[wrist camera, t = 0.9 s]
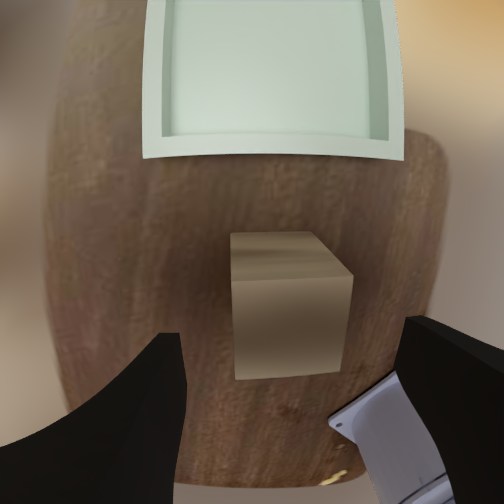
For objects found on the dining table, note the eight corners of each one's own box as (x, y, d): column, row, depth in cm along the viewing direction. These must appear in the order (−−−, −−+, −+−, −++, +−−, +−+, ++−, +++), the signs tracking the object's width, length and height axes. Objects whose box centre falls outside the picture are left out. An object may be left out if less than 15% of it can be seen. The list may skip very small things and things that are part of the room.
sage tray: (379, 158, 15) (403, 160, 12) (156, 157, 14) (143, 158, 12) (367, -23, 11) (385, -42, 9) (164, -34, 11) (155, -58, 8)
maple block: (306, 302, 17) (339, 371, 11) (232, 305, 17) (235, 379, 11) (310, 231, 16) (353, 276, 10) (230, 232, 16) (230, 281, 10)
